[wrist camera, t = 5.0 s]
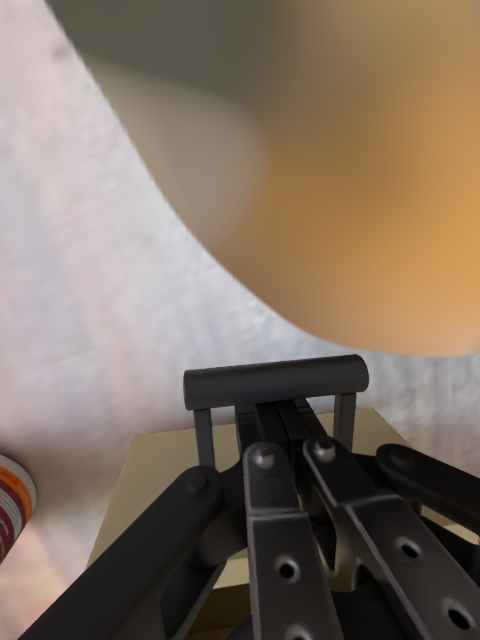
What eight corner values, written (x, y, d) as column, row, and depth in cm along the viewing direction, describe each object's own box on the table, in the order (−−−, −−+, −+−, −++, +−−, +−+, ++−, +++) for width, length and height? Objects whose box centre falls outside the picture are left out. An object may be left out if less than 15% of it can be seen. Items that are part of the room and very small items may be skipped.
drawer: (116, 339, 14) (31, 433, 7) (381, 317, 15) (520, 379, 8) (169, 622, 20) (150, 817, 13) (355, 589, 21) (424, 752, 14)
